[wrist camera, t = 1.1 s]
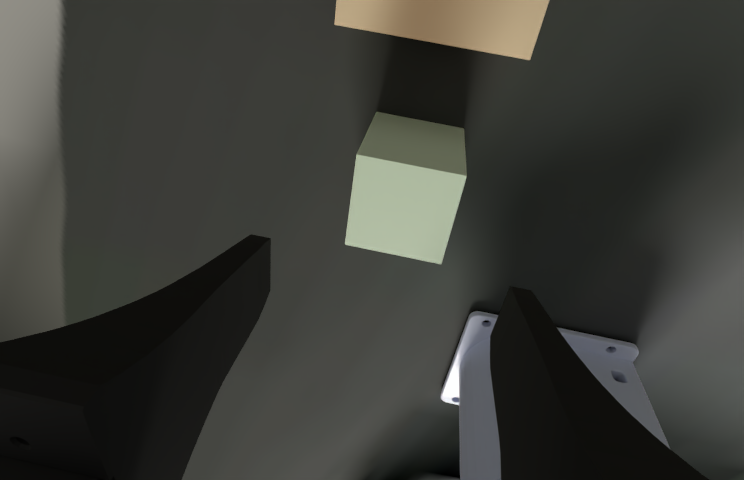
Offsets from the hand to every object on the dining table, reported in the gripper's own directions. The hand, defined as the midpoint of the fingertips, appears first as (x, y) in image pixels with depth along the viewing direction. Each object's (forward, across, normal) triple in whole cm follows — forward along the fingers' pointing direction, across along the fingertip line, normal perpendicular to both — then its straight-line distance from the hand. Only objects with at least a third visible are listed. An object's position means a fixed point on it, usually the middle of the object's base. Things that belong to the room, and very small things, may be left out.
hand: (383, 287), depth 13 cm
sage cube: (+10, 0, 0) cm, 10 cm away
